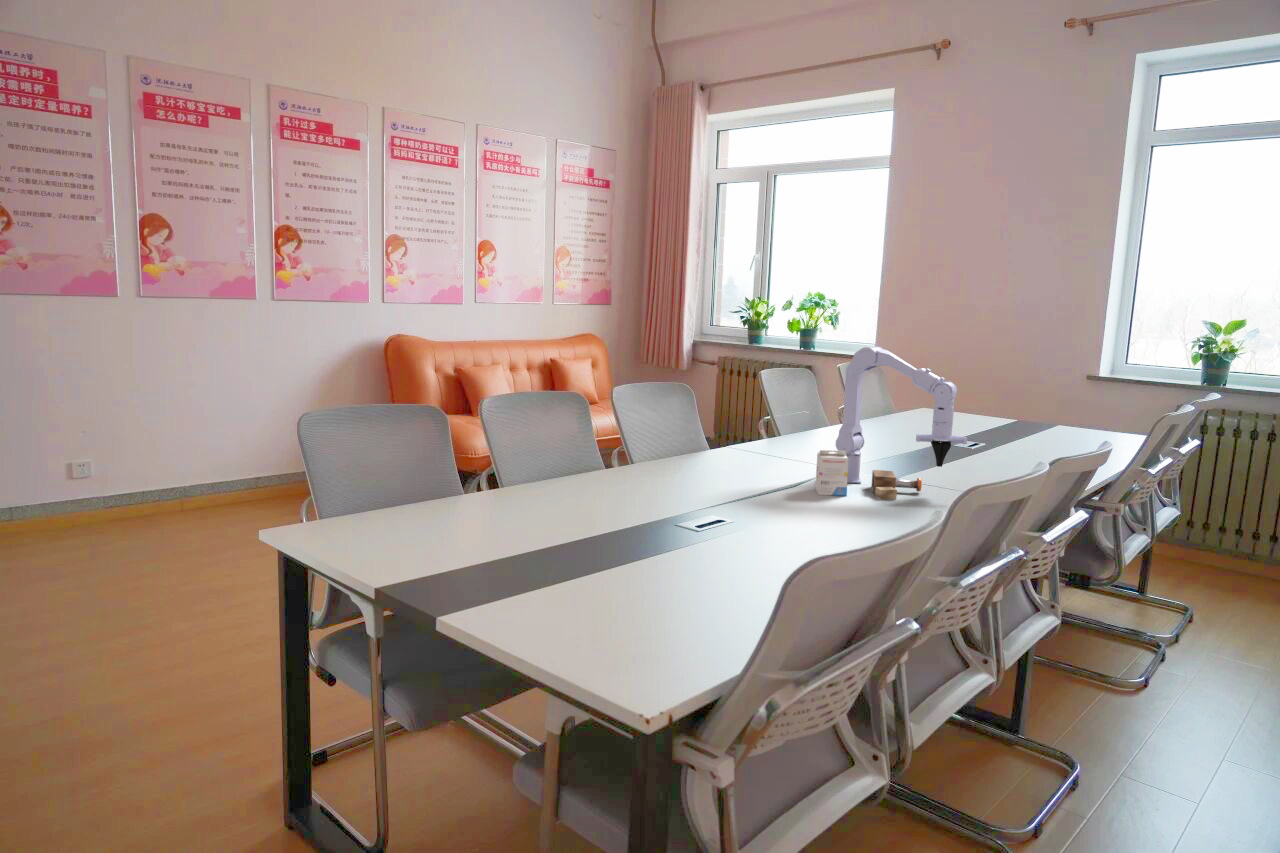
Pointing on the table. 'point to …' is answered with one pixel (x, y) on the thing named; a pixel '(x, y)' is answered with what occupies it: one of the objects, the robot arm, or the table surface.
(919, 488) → the pin
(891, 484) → the block
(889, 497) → the block
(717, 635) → the table surface
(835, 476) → the ink box
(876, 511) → the table surface
